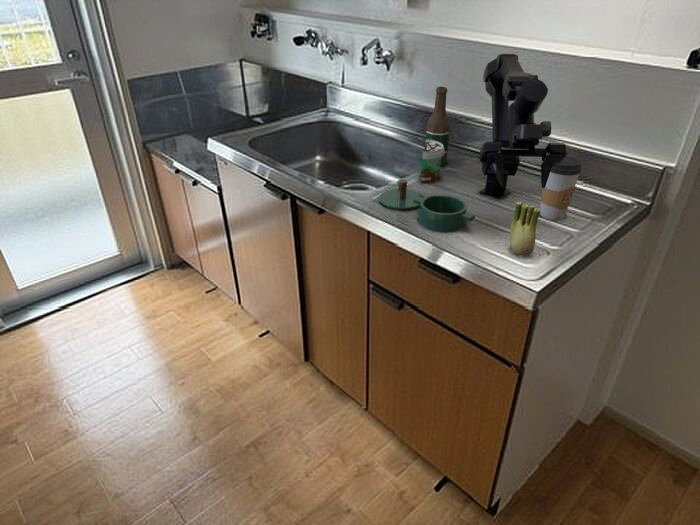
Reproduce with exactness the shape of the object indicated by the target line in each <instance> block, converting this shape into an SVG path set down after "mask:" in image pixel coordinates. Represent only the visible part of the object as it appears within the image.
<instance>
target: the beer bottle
mask: <svg viewBox="0 0 700 525" xmlns="http://www.w3.org/2000/svg"><path fill="white" fill-rule="evenodd" d="M435 93H436V94H435V100H434V107H433V111H432V114H431V116H429V118H428V119H427V120H428V121H427V123H426V129H425V130H426V131H425V140H426V139H427V140H434V141H437V142H440V143H441V144H443V147H444V152H445V154H444V155H443V156H442V159H441V165H440V168H441V167H444V166H446V165H447V160H448V151H449V150H448V149H449V140H450V133H451V132H450V129H451V128H450V126H451V125H450V124H451V123H450V120H449V117H448V115H447V93H448V88H447V87H446V86H438V87H436V88H435ZM425 143H426V141H425Z"/></svg>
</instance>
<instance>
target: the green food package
mask: <svg viewBox="0 0 700 525" xmlns="http://www.w3.org/2000/svg"><path fill="white" fill-rule="evenodd" d="M425 142H426V143H425V144H424V149H423V151H422V158H421V172H420V173H421V174H420V184H428V183H434V182H436V181H438V179H439V177H440V176H439V175H440V170H441V167H440V165H441V159H442V156H443V155H444V154H445V152H444V147H443V144H441V143H440V142H437V141H434V140H427V139H426V138H425Z"/></svg>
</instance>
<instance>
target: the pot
mask: <svg viewBox="0 0 700 525" xmlns="http://www.w3.org/2000/svg"><path fill="white" fill-rule="evenodd" d="M413 203H416V204H419V205H420V206H419V217H418V220H419V224H420V225H421V226H423V227H424V228H425V229H427V230H429V231H433V232H440V233H451V232H455V231H459V230H461V229H462V228H464V226H465V222H468V223H471V222H472V221H473V220H475V218H476V214H473V213H470V212H467V209H468V208H467V207H468V205H467V203H466V202H465V201H464V200H463V199H461V198H458V197H456V196H453V195H446V194H434V195H430V196H426V197H424V198H422V197H417V198H415V199H413Z"/></svg>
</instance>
